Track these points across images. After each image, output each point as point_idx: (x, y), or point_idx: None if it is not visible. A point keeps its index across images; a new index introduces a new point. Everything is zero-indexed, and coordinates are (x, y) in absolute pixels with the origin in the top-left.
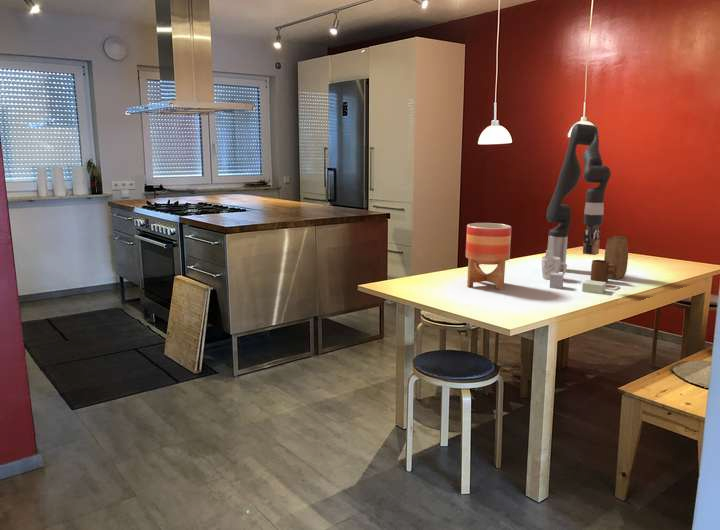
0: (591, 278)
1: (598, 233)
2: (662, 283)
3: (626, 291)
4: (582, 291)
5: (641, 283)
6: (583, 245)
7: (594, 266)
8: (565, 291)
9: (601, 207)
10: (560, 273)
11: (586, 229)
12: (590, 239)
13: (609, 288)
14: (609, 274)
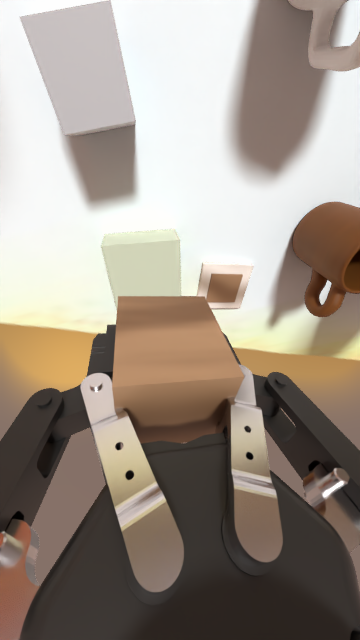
0: (315, 211)
1: (301, 470)
2: (326, 352)
3: None
4: (105, 235)
5: (314, 326)
6: (115, 341)
7: (340, 237)
8: (45, 173)
9: None
10: (120, 95)
11: (135, 577)
12: (46, 467)
13: (197, 294)
14: (311, 279)
